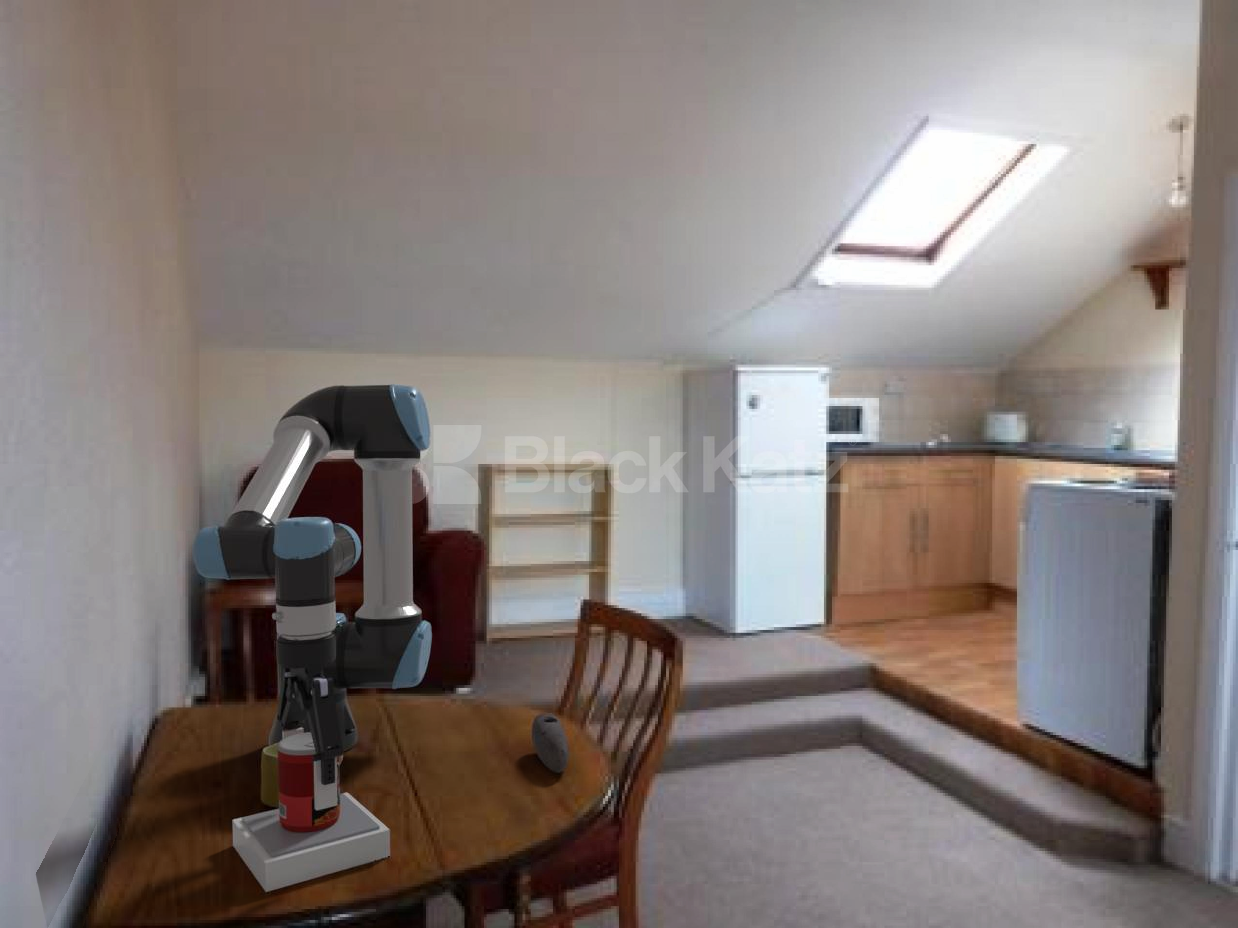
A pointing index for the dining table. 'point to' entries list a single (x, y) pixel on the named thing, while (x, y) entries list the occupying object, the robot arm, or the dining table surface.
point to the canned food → (301, 787)
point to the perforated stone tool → (550, 741)
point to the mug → (271, 776)
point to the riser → (309, 845)
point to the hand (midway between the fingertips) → (309, 790)
